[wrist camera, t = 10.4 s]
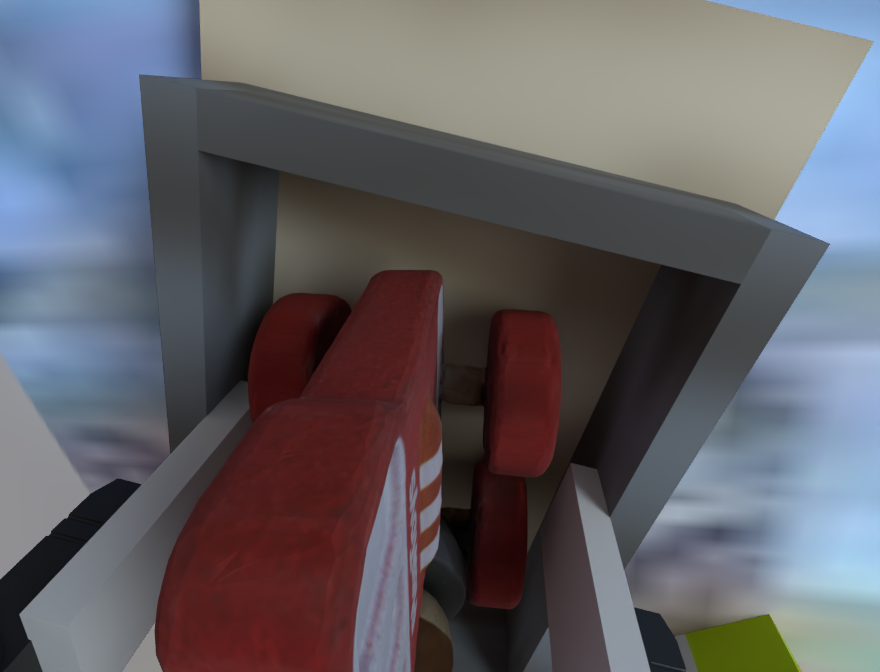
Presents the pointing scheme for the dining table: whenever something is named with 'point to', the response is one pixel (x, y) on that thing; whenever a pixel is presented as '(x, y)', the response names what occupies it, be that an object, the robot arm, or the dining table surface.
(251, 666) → the toy fire truck
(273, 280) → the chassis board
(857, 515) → the dining table surface
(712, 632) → the puzzle toy
